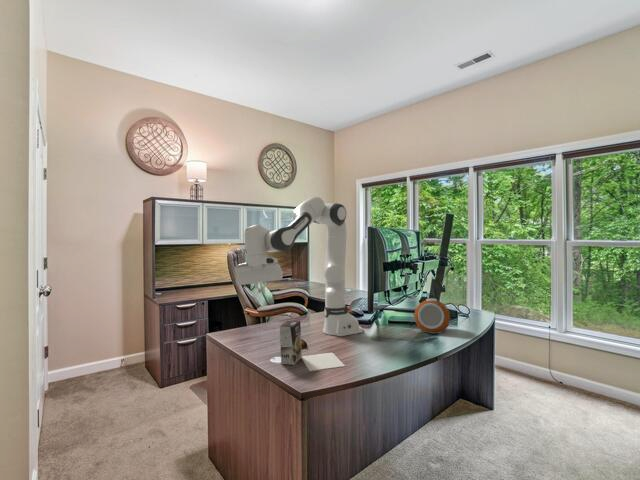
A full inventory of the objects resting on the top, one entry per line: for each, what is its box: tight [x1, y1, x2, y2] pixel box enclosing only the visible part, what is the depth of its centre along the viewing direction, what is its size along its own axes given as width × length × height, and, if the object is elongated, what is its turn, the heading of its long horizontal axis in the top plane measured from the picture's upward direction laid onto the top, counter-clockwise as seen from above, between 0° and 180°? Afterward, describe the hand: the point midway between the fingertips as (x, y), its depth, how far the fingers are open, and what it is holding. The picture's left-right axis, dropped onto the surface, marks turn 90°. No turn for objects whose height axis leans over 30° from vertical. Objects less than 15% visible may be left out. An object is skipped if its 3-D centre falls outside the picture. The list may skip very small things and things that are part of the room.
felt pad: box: [300, 352, 346, 372], centre depth 140 cm, size 15×16×1 cm
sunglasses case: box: [279, 338, 308, 349], centre depth 164 cm, size 18×7×7 cm, turn 28°
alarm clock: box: [413, 297, 451, 334], centre depth 184 cm, size 19×18×17 cm
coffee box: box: [279, 320, 303, 366], centre depth 141 cm, size 9×6×16 cm
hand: (261, 292), depth 144 cm, fingers closed
